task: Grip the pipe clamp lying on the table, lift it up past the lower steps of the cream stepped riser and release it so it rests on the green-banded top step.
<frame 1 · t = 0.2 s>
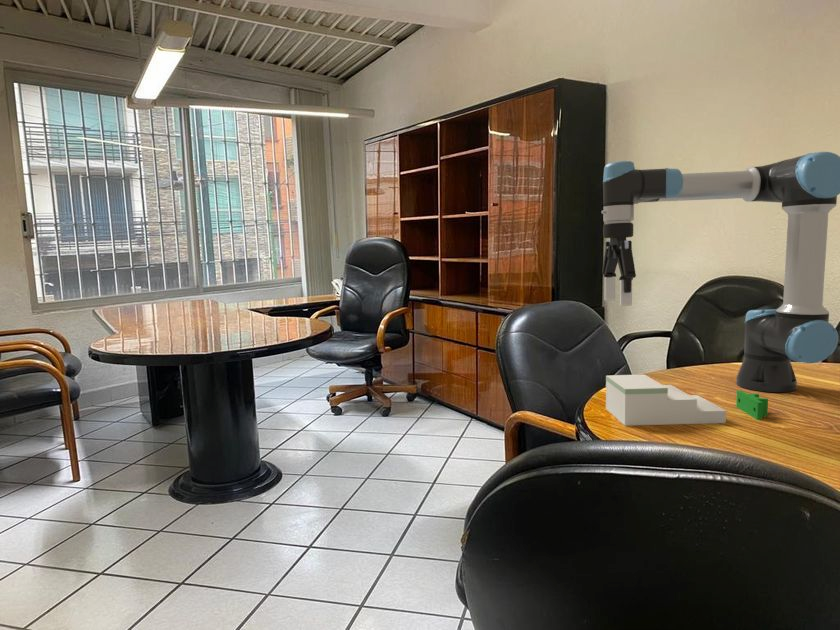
hand: (617, 303, 145), 28 cm above the table, tool pointing down, fingers open, 13 cm apart
pipe clamp: (753, 414, 136), on the table
stepped riser: (662, 415, 137), on the table
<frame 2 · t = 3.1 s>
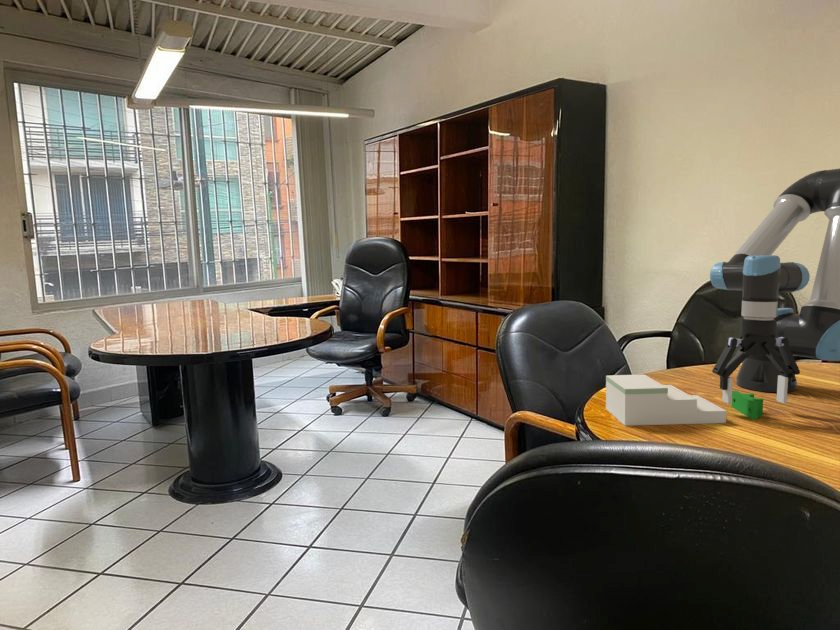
hand: (754, 402, 136), 3 cm above the table, tool pointing down, fingers open, 13 cm apart
pipe clamp: (748, 414, 136), on the table
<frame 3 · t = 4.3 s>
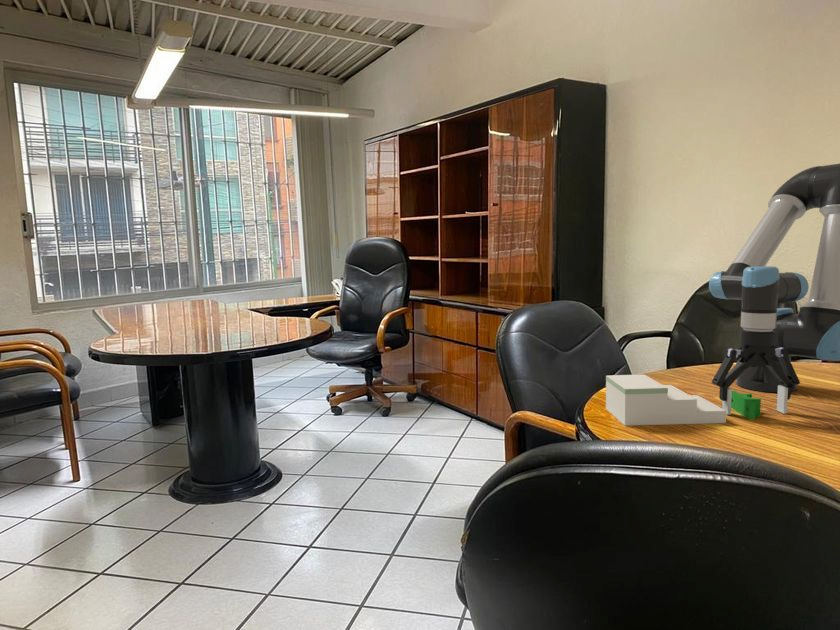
hand: (753, 412, 136), 0 cm above the table, tool pointing down, fingers open, 13 cm apart
nothing on the table moved.
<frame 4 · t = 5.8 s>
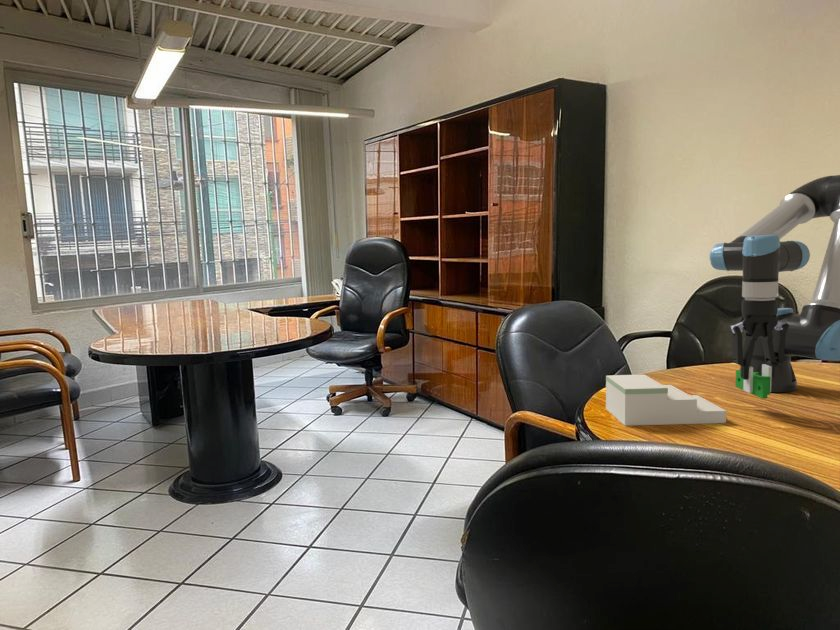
hand: (757, 391, 136), 6 cm above the table, tool pointing down, fingers closed on pipe clamp, 4 cm apart
pipe clamp: (755, 393, 136), point 5 cm above the table, touching gripper
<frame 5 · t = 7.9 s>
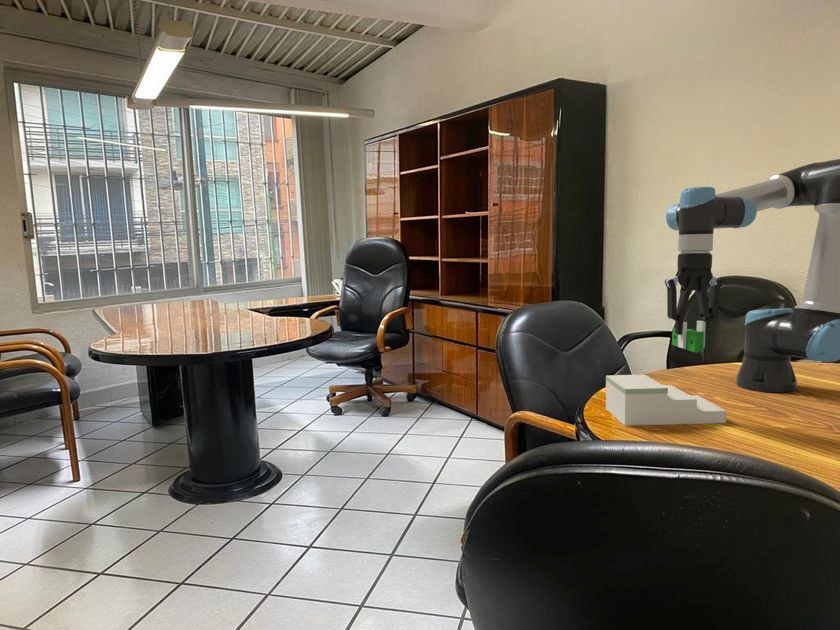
hand: (691, 347, 134), 17 cm above the table, tool pointing down, fingers closed on pipe clamp, 4 cm apart
pipe clamp: (689, 349, 134), point 17 cm above the table, touching gripper
when the fingers open (10 cm above the table, at t = 10.3 s): pipe clamp stays where it is, resting on stepped riser.
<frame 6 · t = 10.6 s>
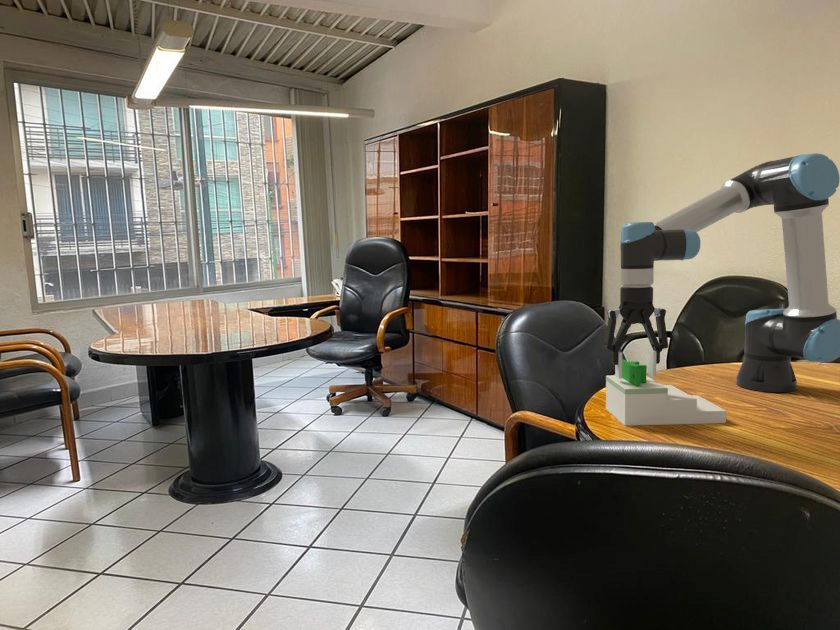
hand: (635, 376, 135), 10 cm above the table, tool pointing down, fingers open, 8 cm apart
pipe clamp: (634, 381, 136), point 9 cm above the table, touching stepped riser
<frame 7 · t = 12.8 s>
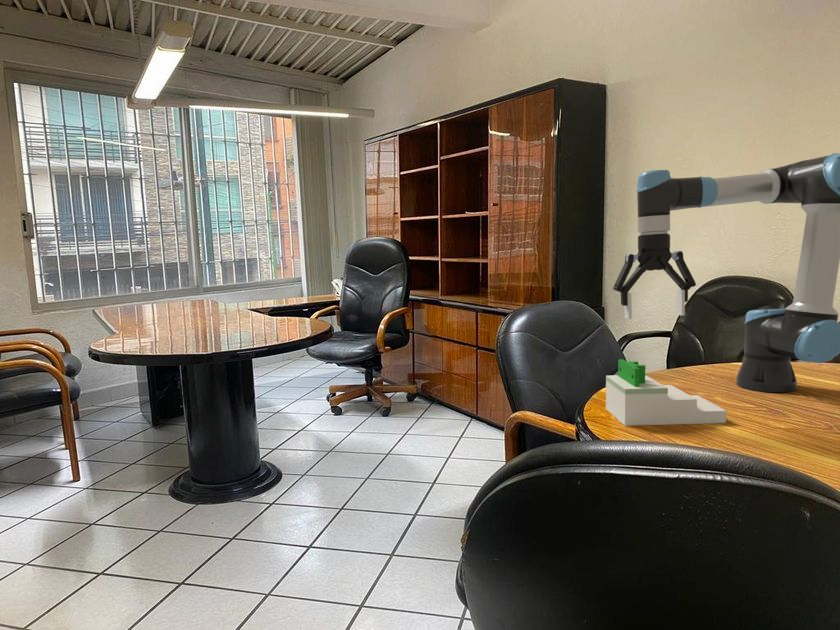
hand: (654, 316, 140), 24 cm above the table, tool pointing down, fingers open, 13 cm apart
nothing on the table moved.
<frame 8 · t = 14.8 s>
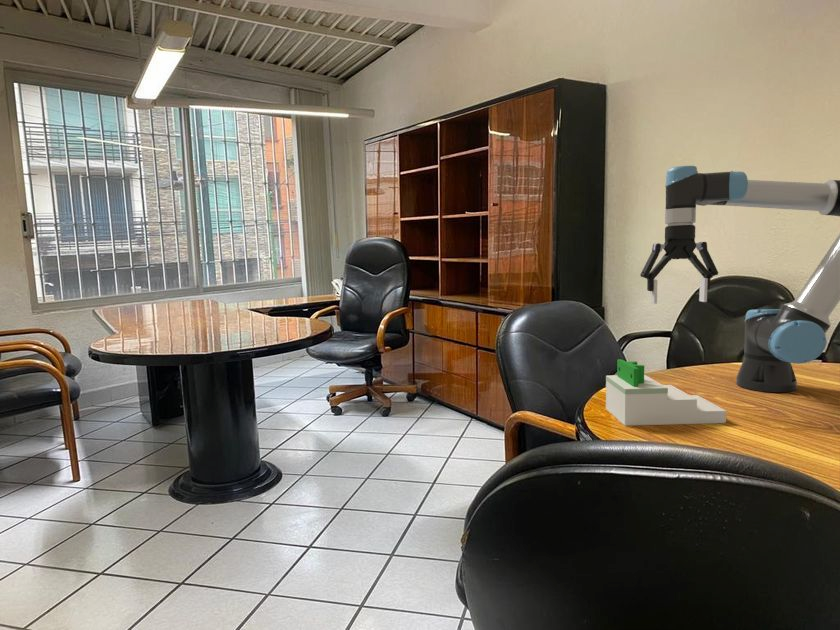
hand: (678, 302, 150), 27 cm above the table, tool pointing down, fingers open, 13 cm apart
nothing on the table moved.
at the end: pipe clamp inside the target area on the stepped riser (0.4 cm from its centre), point 8.8 cm above the stepped riser's base; the gripper is holding nothing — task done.
